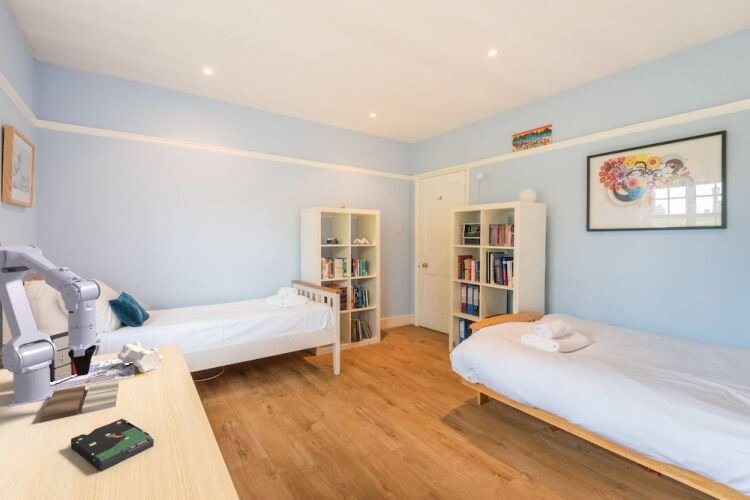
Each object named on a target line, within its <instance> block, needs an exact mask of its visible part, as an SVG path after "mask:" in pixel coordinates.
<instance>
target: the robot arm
mask: <svg viewBox="0 0 750 500" xmlns="http://www.w3.org/2000/svg"><path fill="white" fill-rule="evenodd" d="M32 271H34V272H36V274H37V273H38V274H39V275H41V276H42V277H44V282H45V284H46V285H48V286H49V287H51V289H54V290H55V291H57V292H59V293H60V296H61V299H62V301H63V303H64V309H65V311H67V326H68V327H67V329H68V330H67V331H68V339H69V343H68V347H69V348H70V349H71V350H70V351H69V352H68V355H69V357H70V358H71V359H72V361H73V363H74V365H75V369H76V372H77V375H78V376H77V377H82V376H87V375H88V374H89V371H90V368H91V363H92V358H93V355H94V353H95V351H96V350H97V345H96V344H98V343H99V344H100V343H102V338H97V333H96V332H97V331H96V330H97V325H96V323H97V322H96V321H97V320H96V317H97V316H96V300H98V299H99V298H100V296H101V293H102V288H101V285H100V284H99V283H98V282H97V281H96V280H95V279H85V278H82V276H81V275H78V274H76V273H75V272H73V271H72V270H70V268H69V267H68V266H56V265H55V264H54V263H52V261H50V260H48V259H47V258H46V257H45V256H44V255H43V252H42V249H41V248H39V247H37V246H36V245H35V244H28V245H25V244H24V245H2V246H1V245H0V302H1V306H2V309H3V313H4V316H5V318H6V319H5V320H6V322H7V325H8V328H9V330H10V335H11V339H10V340H9V341H8V342H7V343H5V345H4V346H2V348H1V350H2V364H3V367H4V368H5V369H6V370H7V371H8V372H10V373H12V377H13V378H12V380H13V399H12V400H11V402H10V403H9V405H8V407H9V408H10V407H11V408H12V407H15V406H21V405H26V404H27V405H28V404H31V403H36V402H42V401H46V400H49V399H50V398H51V396H52V394H53V392H54V391H55V390H54V389H55V388H53V389H51V388H50V387H51V385H50V368H49V364H52V360H53V359H54V358H55V357H56V354H57V348H56V346H55V344H54V343H53V342H52V341H51V339H50V336H51V335H49V334H47V333H44V332H42V331H39V330H38V327H37V323H36V320H35V318H34V315H33V311H32V309H31V306H30V303H29V298H28V296H27V293H26V289H25V287H24V284H23V278H24V277H26V276H28V275H29V274H31V272H32Z"/></svg>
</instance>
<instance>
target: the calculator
mask: <svg viewBox="0 0 750 500" xmlns="http://www.w3.org/2000/svg"><path fill="white" fill-rule="evenodd" d="M49 336H50V339H51V341H52V342H53V343H54V344H55V346H56V348H57V354H56V357H55V358H54V359H53V360H52V364H49V368H50V382H53V381H58V380H61V379H64V378H67V377H70V376H71V375H75V374H77V372H76V369H75V365H74V363H73V361H72V359H71V358H70V357H69V355H68V352H69V351H70V350H71V349H70V348H69V347H68V343H69V339H68V330H67V331H64V332H59V333H56V334H52V335H49Z"/></svg>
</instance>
